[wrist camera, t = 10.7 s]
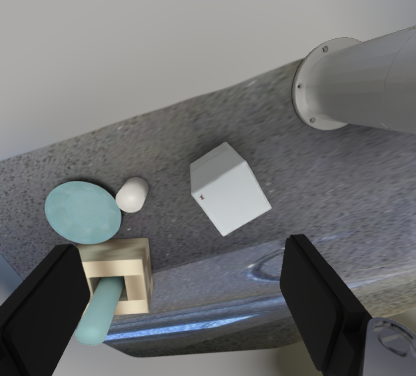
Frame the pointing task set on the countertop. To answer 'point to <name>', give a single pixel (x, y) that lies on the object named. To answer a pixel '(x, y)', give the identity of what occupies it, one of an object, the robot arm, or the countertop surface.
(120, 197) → the short off-white stub
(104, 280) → the teal dowel
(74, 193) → the saucer
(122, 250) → the birch hole block
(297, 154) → the countertop surface
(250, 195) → the supplement box
